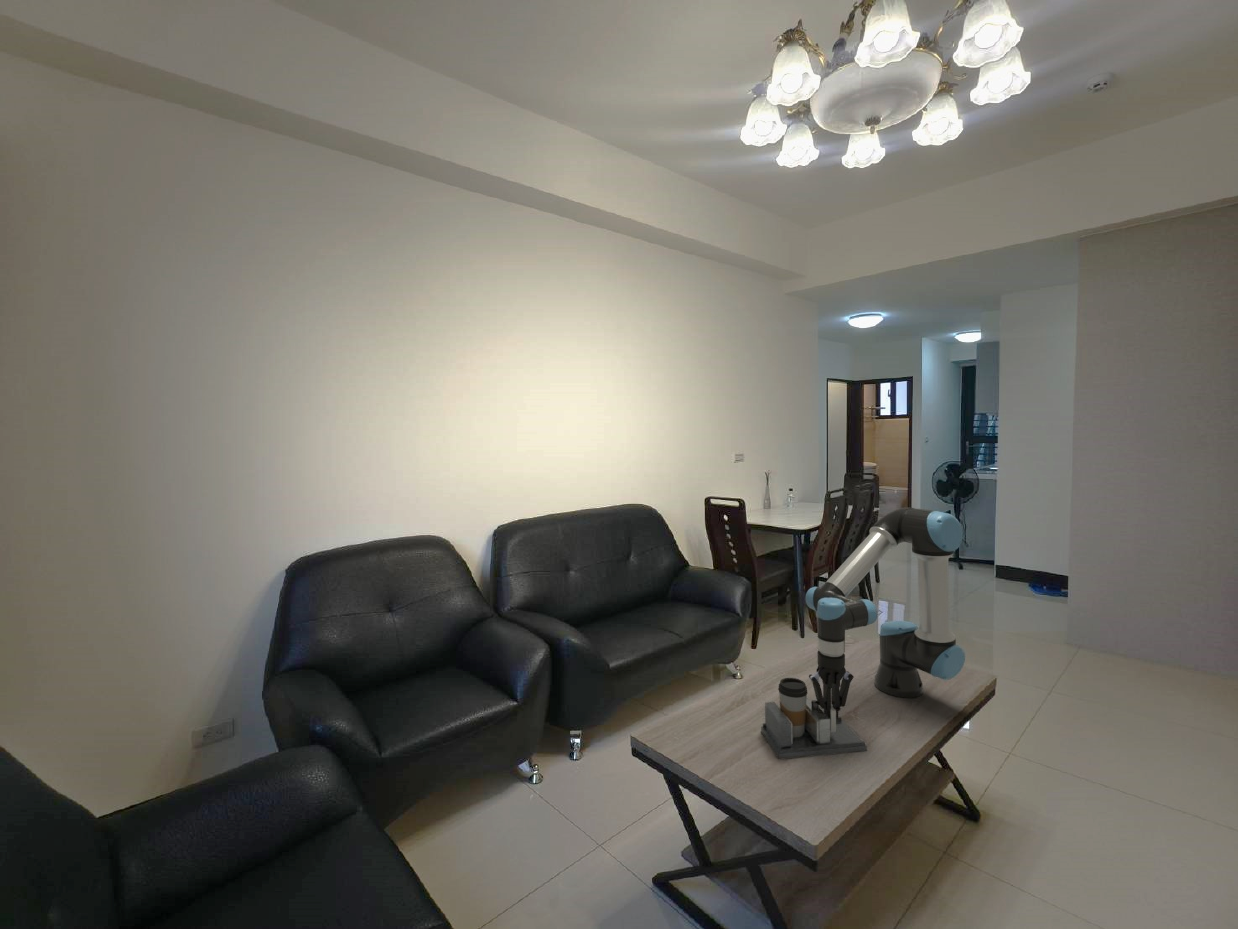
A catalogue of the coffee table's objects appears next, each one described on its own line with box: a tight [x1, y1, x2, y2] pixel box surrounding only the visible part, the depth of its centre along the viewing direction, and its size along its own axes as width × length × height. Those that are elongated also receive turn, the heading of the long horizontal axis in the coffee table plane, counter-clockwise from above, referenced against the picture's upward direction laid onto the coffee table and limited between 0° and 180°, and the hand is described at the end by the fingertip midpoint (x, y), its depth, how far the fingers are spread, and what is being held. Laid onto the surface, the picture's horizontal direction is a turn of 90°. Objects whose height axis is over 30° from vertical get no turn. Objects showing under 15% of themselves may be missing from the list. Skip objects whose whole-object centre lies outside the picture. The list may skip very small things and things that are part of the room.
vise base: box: [760, 701, 868, 760], centre depth 159 cm, size 26×14×10 cm, turn 96°
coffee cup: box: [778, 677, 808, 737], centre depth 161 cm, size 8×8×15 cm
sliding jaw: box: [805, 697, 830, 745], centre depth 159 cm, size 4×12×10 cm, turn 6°
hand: (831, 729), depth 159 cm, fingers closed
